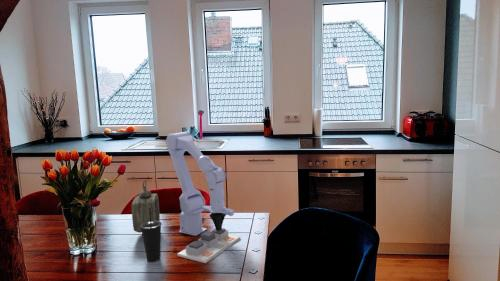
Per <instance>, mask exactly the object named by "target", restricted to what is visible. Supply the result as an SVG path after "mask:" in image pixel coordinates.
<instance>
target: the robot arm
mask: <svg viewBox="0 0 500 281" xmlns="http://www.w3.org/2000/svg"><path fill="white" fill-rule="evenodd" d="M165 140H166V141H165V144H166V147H167V150H168V153H169V155H170V158H171V162H172V164H173V168H174V171H175V174H176V176H177V179H178V181H179V184H180V188H181V191H182V193H181V195H180V196H179V197H178V198H179V204H180V205H179V206H180V210H181V212H180V214H179V233H180V234H181V233H182V234H186V235H190V236H195V237H196V236H198V235H201V234H202V233H204V232H205V231H208V230H207V229H208V228H206V227H203V214H202V213H203V212H208V213H209V212H210V214H209V218H210V219H211V221H212V223H213V224H214V225H213V226H214V229H216V230H217V231H219V230H221V229H222V228H223V223H224V220H225V217H226V215H227V216H229V217H232V216H234V215H235V214H234V213H235V210H234V209H231V208H227V207H226V206H225V188H224V182H225V181H226V179H227V174H226V170H224V168H223V167H219V166H217V165H216V164H215V163H214V162H213V160H212V159H211V157H209V155H204V154H203V153H202V152H201V150H200V149H199V147H198V146H197V144H196V143H195V142H194V136H193V135H192V134H191V133H190V132H189V131H187V130H186V131H183V132H182V131H181V132H175V133H169V134H167V136H166V139H165ZM185 152H188V154H190V155H191V156H192V157H193V158H194V160H196V166H198V168H199V170H200V171H202V173H203V174H204V175H205V180H206V182H207V187H208V189H209V200H210V201H209V204H210V205H206V200H205V198H204V196H203V195H202V193H201V191H200V190H199V189H196V188H195V185H194V183H193V179H192V177H191V174H190V171H189V167H188V165H187V161H186V158H185V155H184V154H185Z"/></svg>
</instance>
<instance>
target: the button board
mask: <svg viewBox="0 0 500 281" xmlns="http://www.w3.org/2000/svg"><path fill="white" fill-rule="evenodd" d="M239 240H241V236H240V235H236V234H235V235H234V234H230V233H229V230H228V229H226V231H225V232H223V233H222V234H216V233H215V238H214V239H212V240H211V241H205V240H201V237H200V238H199V239H198V238H197V241H199V242H203V244H204V245H203V246H201V247H199V248H198V249H195V248H191V247H189V244H188V245H186V246H185V249H183V250H181V251H180V252H177V257H181V258H184V259H189V260H191V261H194V262H195V261H196V262H199V263H204V264H206V263H208V262H209V261H211V260H212V259H214V258H215V257H217V256H218V255H220V253H222V252H223V251H225V250H226V249H229V247H231V246H232V245H233V244H235V243H236V242H238V241H239Z"/></svg>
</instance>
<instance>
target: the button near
mask: <svg viewBox="0 0 500 281" xmlns="http://www.w3.org/2000/svg"><path fill="white" fill-rule="evenodd" d="M188 245H189V247H191V248H195V249H198V248H199V247H201V246H203V245H204V244H203V242H199V241H198V240H194V241H192V242H190V243H189V244H188Z"/></svg>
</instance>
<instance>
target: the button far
mask: <svg viewBox="0 0 500 281" xmlns="http://www.w3.org/2000/svg"><path fill="white" fill-rule="evenodd" d="M226 230H227V229H226V228H223V227H222V229H221V230H219V231H217V230H216V228H214V229H212V230H211V232H215V233H216V234H222V233H223V232H225V231H226Z"/></svg>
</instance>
